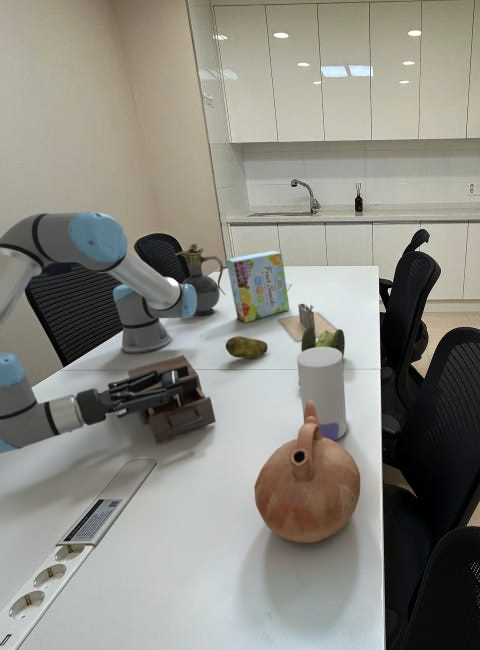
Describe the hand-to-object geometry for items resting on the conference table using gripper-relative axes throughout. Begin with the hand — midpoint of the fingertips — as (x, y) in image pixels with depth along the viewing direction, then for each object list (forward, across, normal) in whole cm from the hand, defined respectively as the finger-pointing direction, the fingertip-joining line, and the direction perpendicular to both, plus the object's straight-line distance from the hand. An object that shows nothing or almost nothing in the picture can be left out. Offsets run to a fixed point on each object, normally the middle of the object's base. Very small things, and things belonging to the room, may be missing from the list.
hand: (191, 376), depth 96 cm
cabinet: (-5, -13, -12) cm, 18 cm away
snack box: (+43, -61, -12) cm, 76 cm away
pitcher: (+25, -80, -12) cm, 85 cm away
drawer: (-5, +2, -11) cm, 12 cm away
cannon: (+36, -1, -12) cm, 38 cm away
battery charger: (-5, 0, -10) cm, 11 cm away
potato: (+22, -24, -12) cm, 35 cm away
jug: (+7, +46, -12) cm, 48 cm away
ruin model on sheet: (+51, -36, -12) cm, 64 cm away
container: (+22, +26, -12) cm, 36 cm away
